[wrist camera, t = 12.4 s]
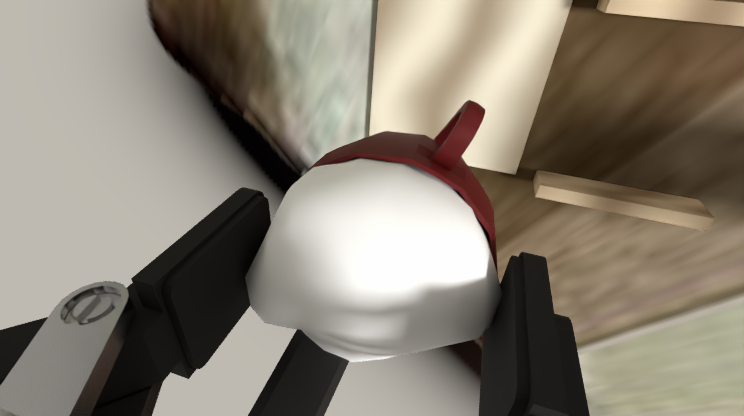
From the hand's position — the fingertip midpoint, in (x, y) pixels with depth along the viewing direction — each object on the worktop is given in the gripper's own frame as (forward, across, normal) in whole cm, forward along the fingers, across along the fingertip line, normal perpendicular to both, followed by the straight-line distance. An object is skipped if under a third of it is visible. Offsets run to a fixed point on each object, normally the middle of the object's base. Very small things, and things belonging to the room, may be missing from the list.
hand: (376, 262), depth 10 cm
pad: (+20, 0, 0) cm, 20 cm away
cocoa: (+4, 0, 0) cm, 4 cm away
